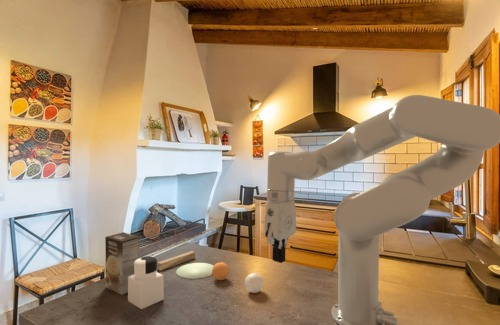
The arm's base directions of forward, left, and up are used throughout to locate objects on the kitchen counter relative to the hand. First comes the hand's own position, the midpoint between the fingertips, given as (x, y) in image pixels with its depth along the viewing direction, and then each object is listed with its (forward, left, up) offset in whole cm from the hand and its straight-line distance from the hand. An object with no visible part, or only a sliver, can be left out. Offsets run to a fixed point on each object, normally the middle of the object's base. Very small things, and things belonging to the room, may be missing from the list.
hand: (278, 260), depth 80 cm
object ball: (+23, 0, -9) cm, 24 cm away
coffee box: (+43, +23, -12) cm, 50 cm away
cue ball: (+9, 0, -9) cm, 12 cm away
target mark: (+35, 0, -12) cm, 37 cm away
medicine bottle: (+30, +23, -12) cm, 39 cm away
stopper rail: (+46, 0, -12) cm, 47 cm away
